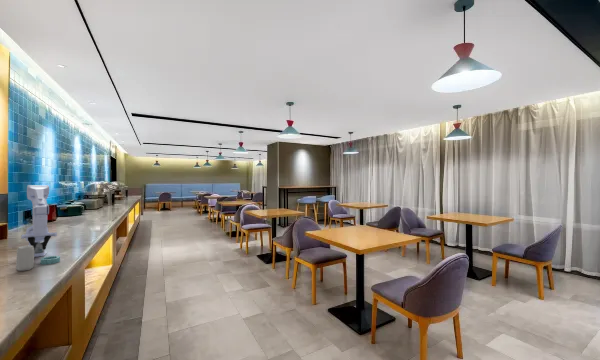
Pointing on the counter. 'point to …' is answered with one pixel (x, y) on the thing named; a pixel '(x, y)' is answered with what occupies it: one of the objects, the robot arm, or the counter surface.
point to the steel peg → (39, 247)
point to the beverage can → (25, 258)
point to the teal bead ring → (50, 260)
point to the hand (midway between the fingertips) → (39, 249)
